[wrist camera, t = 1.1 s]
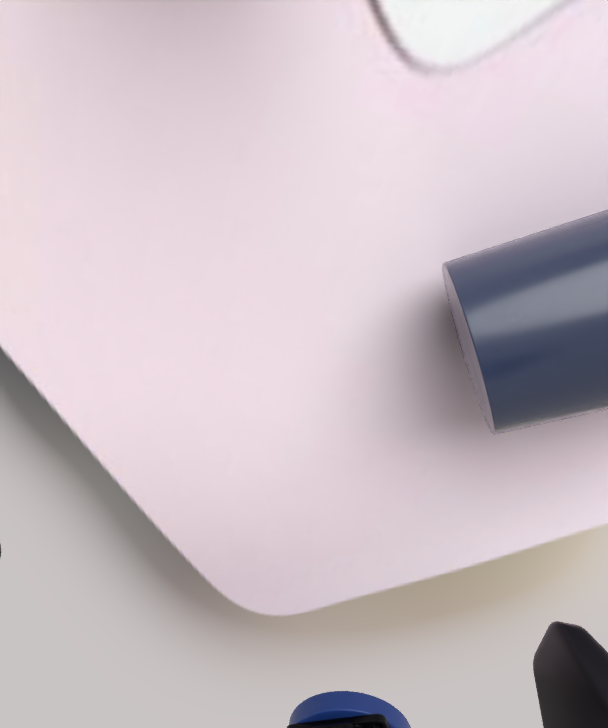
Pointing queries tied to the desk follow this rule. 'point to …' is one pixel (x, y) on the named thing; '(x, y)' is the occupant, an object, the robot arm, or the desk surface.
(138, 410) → the desk surface
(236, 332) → the desk surface
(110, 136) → the desk surface
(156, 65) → the desk surface
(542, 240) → the navy blue tumbler
